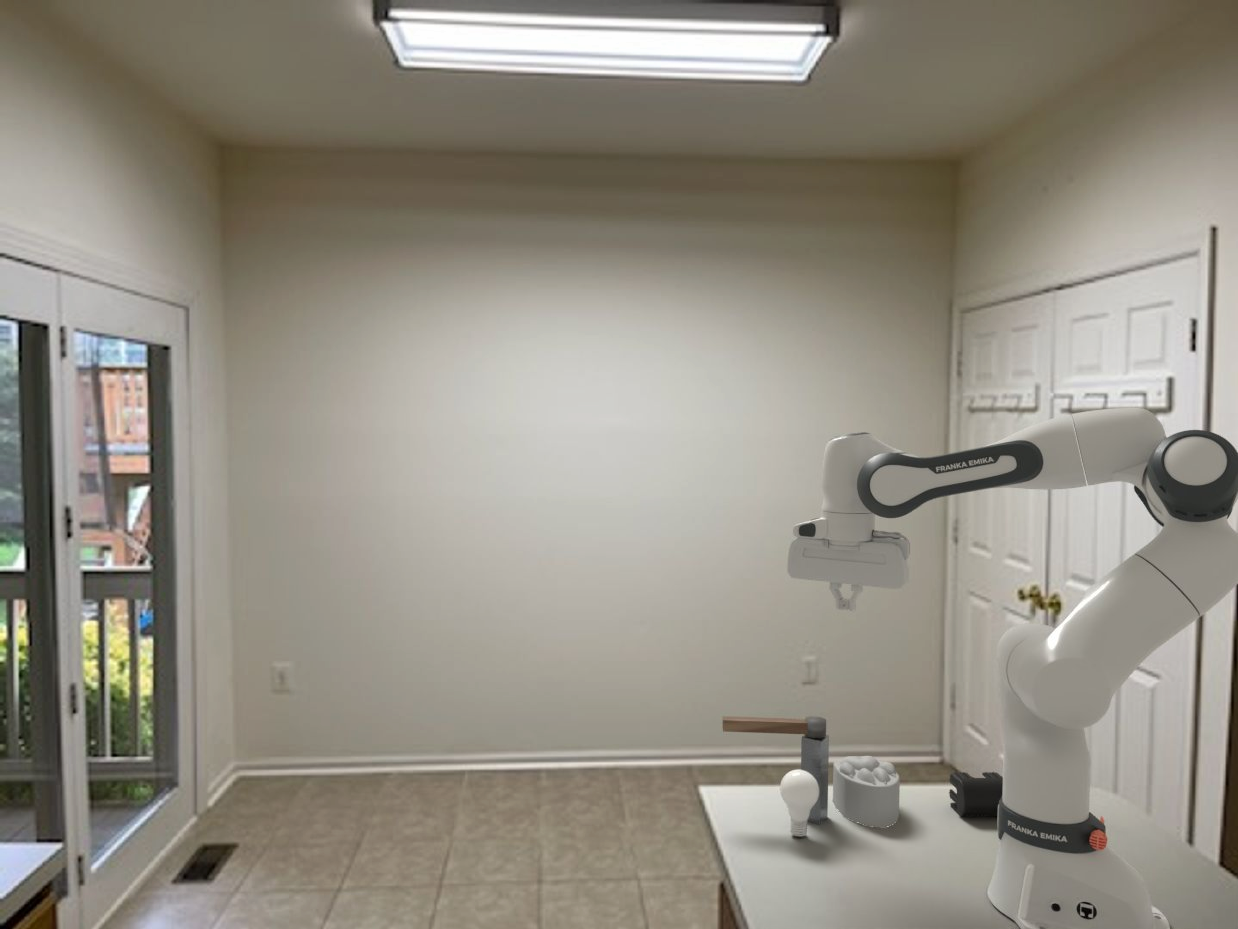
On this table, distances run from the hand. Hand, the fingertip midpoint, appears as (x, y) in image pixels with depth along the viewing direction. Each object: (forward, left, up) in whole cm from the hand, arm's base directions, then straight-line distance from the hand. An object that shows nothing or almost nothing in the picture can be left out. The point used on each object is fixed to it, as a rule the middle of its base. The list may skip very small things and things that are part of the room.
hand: (845, 609), depth 144 cm
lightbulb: (+4, +8, -37) cm, 38 cm away
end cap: (-19, -19, -37) cm, 46 cm away
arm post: (+5, 0, -37) cm, 37 cm away
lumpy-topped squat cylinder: (-2, -8, -37) cm, 38 cm away
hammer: (+11, +4, -22) cm, 25 cm away
